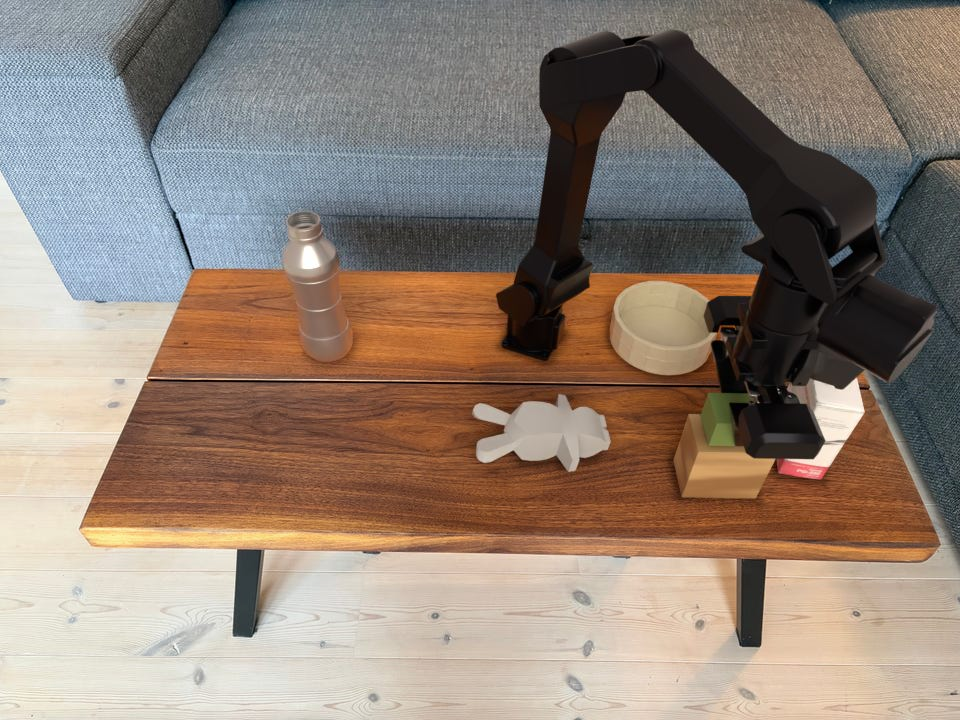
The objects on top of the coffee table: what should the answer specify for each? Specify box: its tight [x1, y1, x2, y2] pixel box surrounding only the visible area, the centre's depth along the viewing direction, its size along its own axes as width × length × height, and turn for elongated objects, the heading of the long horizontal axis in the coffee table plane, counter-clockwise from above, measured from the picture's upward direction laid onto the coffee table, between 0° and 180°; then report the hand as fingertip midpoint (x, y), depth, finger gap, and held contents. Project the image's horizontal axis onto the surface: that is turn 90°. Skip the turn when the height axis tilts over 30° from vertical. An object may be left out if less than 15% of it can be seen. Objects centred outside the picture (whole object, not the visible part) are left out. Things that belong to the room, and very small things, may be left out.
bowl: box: [609, 280, 718, 376], centre depth 93 cm, size 13×13×4 cm
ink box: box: [776, 377, 866, 481], centre depth 78 cm, size 9×5×12 cm, turn 168°
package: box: [700, 392, 754, 446], centre depth 72 cm, size 4×6×4 cm, turn 89°
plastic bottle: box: [280, 210, 354, 363], centre depth 85 cm, size 6×7×20 cm
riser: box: [673, 413, 776, 499], centre depth 76 cm, size 5×8×8 cm, turn 89°
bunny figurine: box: [471, 393, 612, 473], centre depth 80 cm, size 10×5×15 cm
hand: (734, 428), depth 73 cm, fingers closed on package, 4 cm apart
